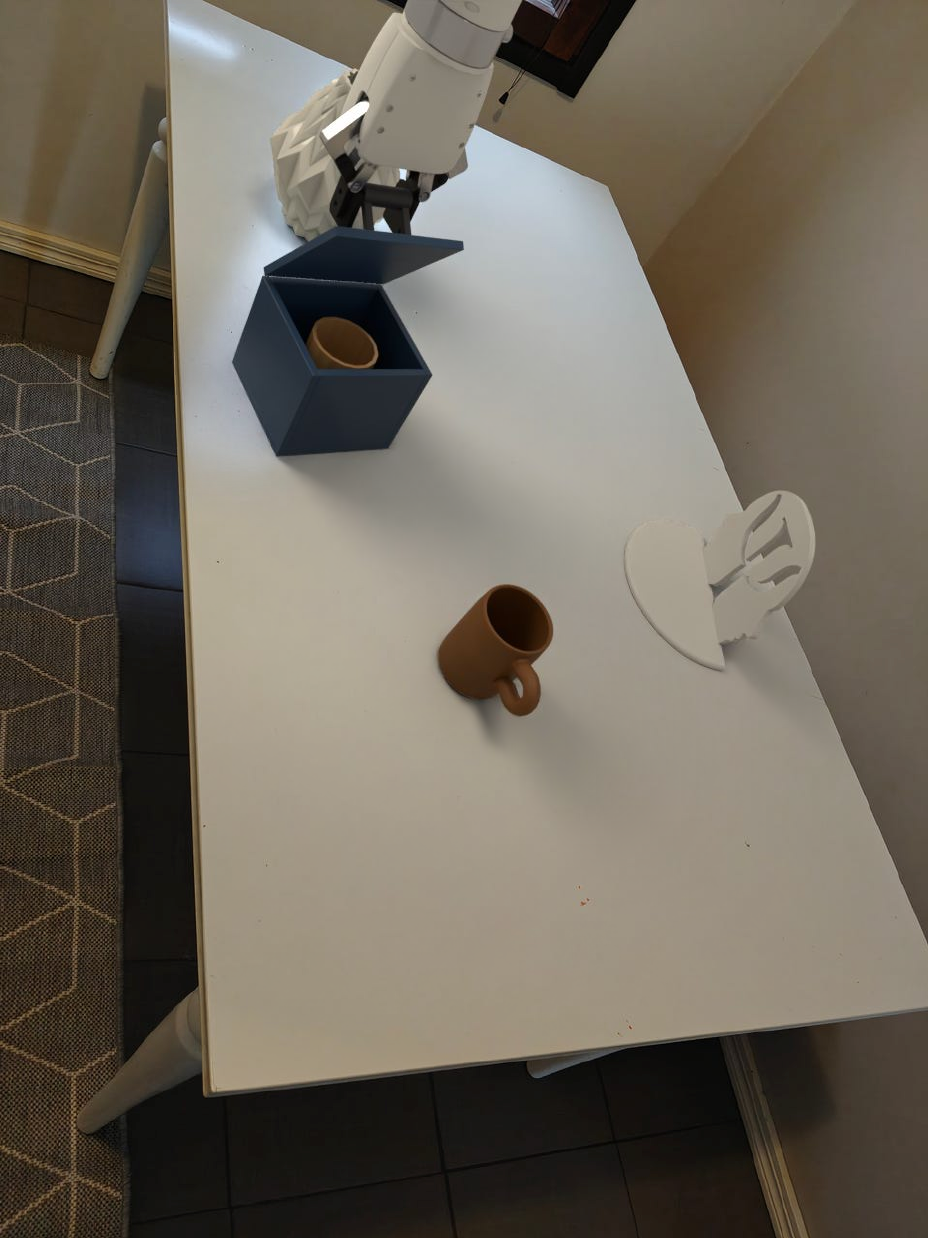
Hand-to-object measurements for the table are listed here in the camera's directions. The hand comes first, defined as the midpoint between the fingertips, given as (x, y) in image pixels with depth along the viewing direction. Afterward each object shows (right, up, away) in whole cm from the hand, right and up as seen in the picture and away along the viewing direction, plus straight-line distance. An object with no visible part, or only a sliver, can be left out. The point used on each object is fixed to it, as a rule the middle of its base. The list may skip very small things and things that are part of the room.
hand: (366, 223), depth 78 cm
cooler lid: (0, -3, +1) cm, 3 cm away
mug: (+10, -43, +4) cm, 44 cm away
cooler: (-7, -13, +13) cm, 20 cm away
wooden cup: (-7, -14, +13) cm, 20 cm away
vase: (-10, +13, +30) cm, 35 cm away
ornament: (+34, -32, +27) cm, 54 cm away
